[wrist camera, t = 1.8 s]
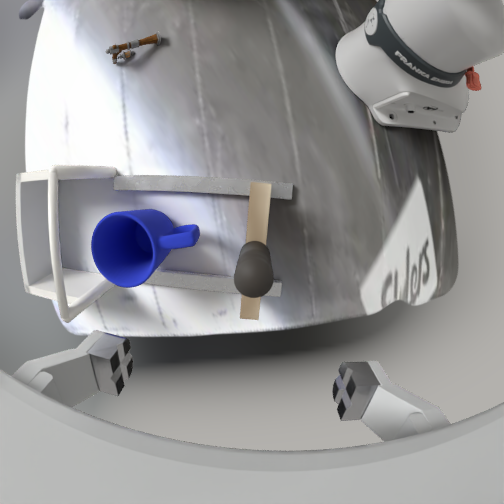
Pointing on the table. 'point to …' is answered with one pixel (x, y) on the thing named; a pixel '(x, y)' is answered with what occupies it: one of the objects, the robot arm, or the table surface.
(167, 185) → the rails
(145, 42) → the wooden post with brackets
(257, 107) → the table surface
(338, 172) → the table surface
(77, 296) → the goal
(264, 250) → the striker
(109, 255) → the mug
